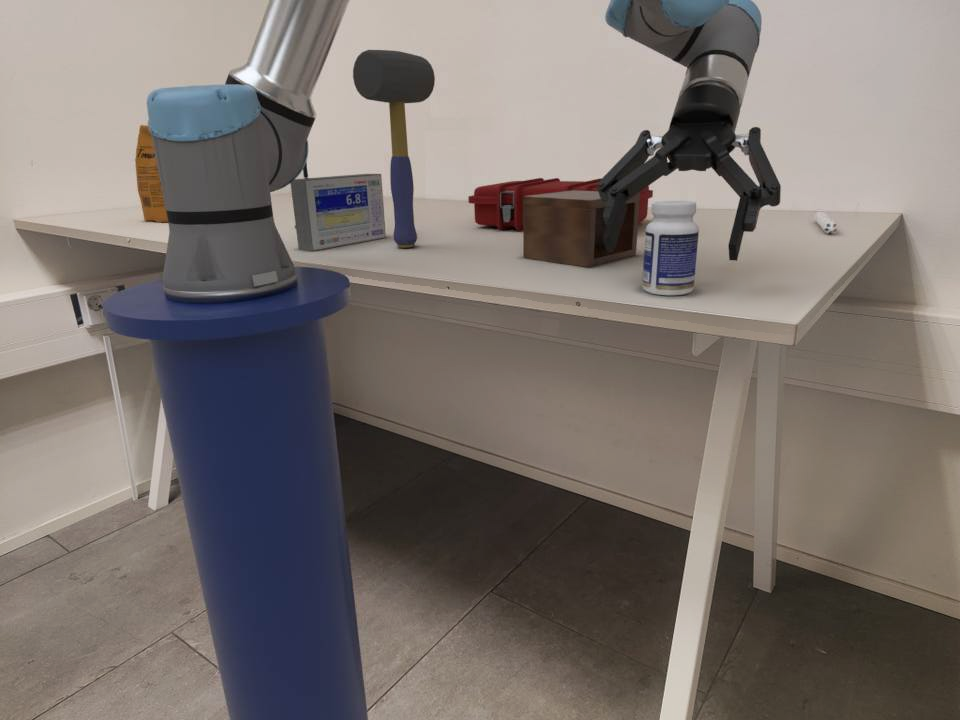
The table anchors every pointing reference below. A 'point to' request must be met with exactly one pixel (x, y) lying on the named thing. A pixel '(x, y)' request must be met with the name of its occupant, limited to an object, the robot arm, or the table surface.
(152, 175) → the coffee package
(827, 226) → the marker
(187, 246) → the robot arm
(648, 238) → the pill bottle
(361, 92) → the rubber mallet
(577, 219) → the shelf
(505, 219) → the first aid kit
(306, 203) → the electronic device
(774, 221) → the table surface
